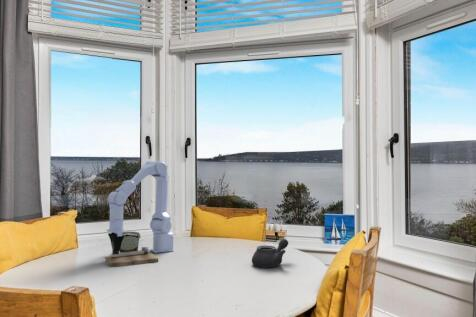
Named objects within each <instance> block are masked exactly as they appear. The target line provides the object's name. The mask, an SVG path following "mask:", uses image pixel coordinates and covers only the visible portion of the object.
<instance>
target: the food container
mask: <svg viewBox="0 0 476 317" xmlns="http://www.w3.org/2000/svg"><path fill="white" fill-rule="evenodd" d="M122 235H125V237H124V239H123V241H122V244H121V248H120V252H129V251H138V250H139V242H140V239H141V233H140V232H138V231H123V232H122Z"/></svg>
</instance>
